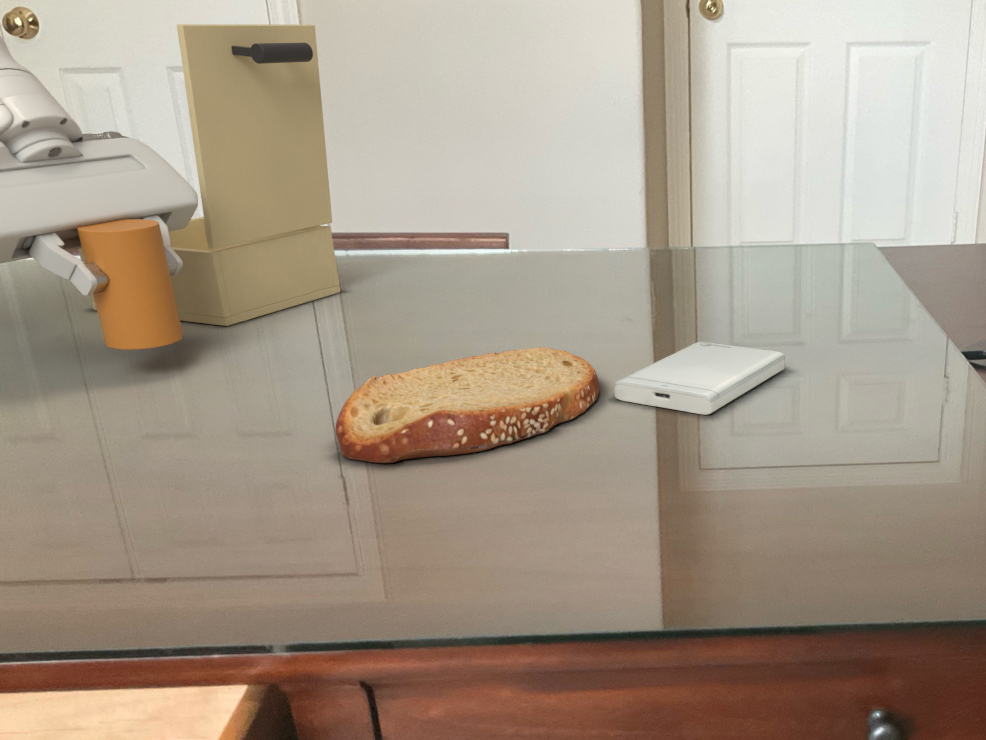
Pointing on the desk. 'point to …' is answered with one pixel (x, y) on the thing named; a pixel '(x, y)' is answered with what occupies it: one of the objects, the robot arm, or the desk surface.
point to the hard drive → (700, 377)
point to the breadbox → (249, 274)
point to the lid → (256, 128)
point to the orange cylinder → (133, 284)
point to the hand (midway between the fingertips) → (136, 280)
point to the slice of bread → (464, 405)
